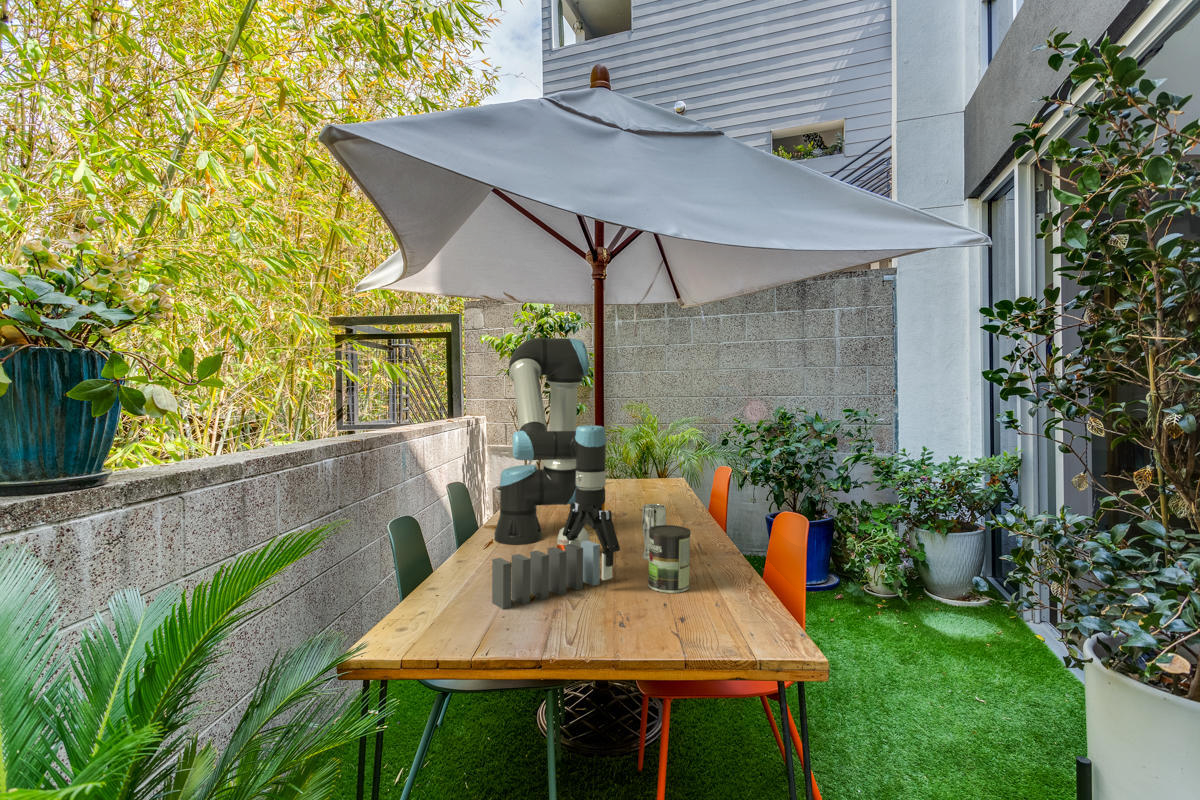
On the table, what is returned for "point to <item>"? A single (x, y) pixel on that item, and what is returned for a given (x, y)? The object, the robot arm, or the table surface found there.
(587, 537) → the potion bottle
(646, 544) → the silver metal cylinder
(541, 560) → the domino
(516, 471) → the robot arm
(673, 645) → the table surface
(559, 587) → the domino
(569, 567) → the domino
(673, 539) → the coffee can
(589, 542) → the domino
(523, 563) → the domino
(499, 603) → the domino
